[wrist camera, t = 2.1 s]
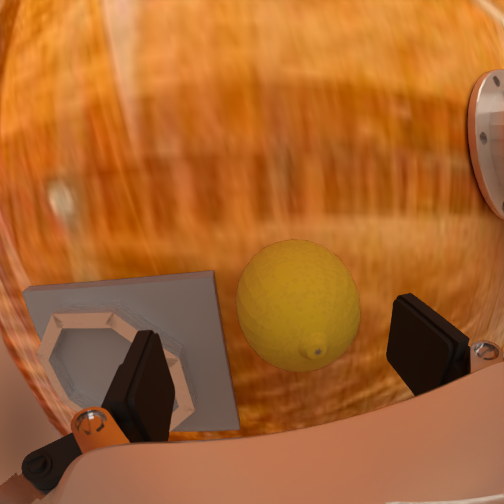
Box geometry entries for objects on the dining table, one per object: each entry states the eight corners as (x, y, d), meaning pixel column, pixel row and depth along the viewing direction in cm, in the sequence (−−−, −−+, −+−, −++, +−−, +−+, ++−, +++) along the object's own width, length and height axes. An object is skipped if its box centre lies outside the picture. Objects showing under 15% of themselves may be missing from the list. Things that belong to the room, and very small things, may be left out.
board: (213, 270, 17) (212, 276, 16) (239, 420, 21) (240, 429, 20) (29, 286, 17) (22, 291, 16) (87, 415, 21) (84, 423, 20)
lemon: (314, 318, 18) (356, 407, 11) (228, 305, 18) (224, 400, 10) (339, 234, 17) (411, 290, 9) (246, 215, 16) (255, 263, 9)
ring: (172, 296, 16) (166, 308, 15) (205, 423, 20) (204, 438, 18) (30, 304, 16) (19, 314, 15) (83, 416, 19) (78, 428, 18)
